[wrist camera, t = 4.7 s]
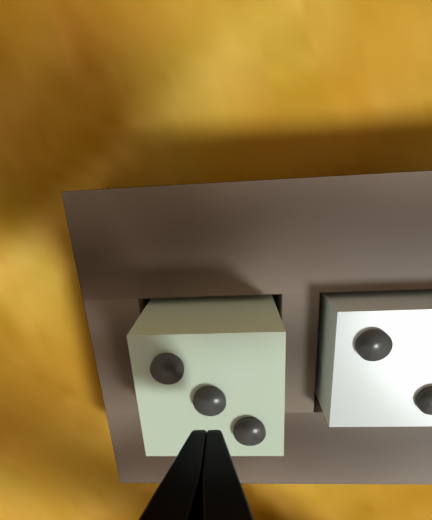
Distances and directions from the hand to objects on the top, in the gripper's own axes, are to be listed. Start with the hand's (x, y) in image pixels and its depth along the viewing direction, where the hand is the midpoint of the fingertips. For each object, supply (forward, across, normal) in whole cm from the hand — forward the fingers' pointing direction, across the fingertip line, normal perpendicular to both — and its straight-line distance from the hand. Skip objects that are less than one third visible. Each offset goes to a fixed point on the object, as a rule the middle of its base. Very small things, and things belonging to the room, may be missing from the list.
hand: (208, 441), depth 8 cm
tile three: (+4, 0, 0) cm, 5 cm away
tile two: (+6, -7, 0) cm, 9 cm away
